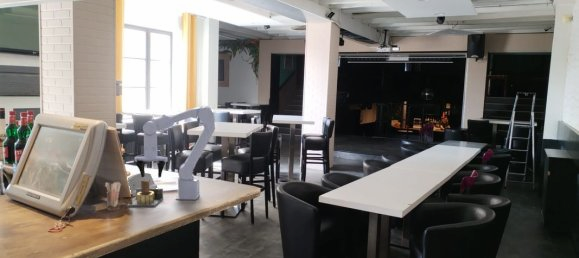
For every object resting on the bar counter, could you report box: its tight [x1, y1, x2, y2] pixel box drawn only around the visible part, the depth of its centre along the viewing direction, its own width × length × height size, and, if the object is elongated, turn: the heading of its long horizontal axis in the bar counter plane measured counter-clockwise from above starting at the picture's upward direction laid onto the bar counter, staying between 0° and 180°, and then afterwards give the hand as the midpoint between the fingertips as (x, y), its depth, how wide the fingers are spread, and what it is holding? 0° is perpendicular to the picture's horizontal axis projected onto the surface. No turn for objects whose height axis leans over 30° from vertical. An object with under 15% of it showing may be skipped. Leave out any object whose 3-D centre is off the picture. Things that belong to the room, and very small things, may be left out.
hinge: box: [128, 172, 158, 197], centre depth 207 cm, size 17×5×10 cm, turn 155°
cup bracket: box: [127, 188, 164, 208], centre depth 189 cm, size 12×12×5 cm
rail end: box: [141, 180, 150, 195], centre depth 189 cm, size 4×4×9 cm
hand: (151, 176), depth 194 cm, fingers open, 7 cm apart
